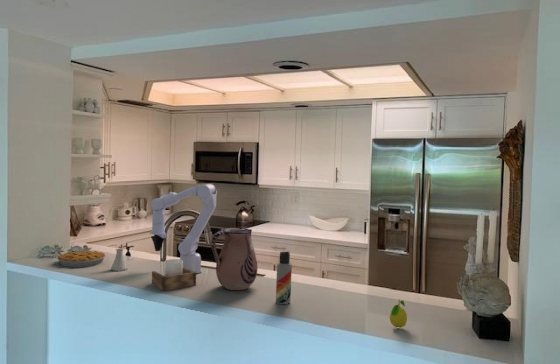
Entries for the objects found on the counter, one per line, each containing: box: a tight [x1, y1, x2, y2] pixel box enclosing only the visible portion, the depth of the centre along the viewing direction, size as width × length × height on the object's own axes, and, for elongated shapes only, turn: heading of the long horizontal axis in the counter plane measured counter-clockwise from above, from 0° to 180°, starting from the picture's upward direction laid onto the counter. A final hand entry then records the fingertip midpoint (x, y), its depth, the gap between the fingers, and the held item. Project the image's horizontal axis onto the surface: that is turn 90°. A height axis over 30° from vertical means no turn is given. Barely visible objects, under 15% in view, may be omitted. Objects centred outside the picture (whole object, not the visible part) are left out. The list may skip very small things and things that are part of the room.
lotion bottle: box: [275, 251, 293, 305], centre depth 166 cm, size 6×6×20 cm
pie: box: [57, 250, 106, 268], centre depth 219 cm, size 22×22×5 cm
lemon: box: [389, 298, 408, 328], centre depth 143 cm, size 7×6×10 cm
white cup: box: [164, 258, 183, 276], centre depth 187 cm, size 8×8×10 cm
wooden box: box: [151, 267, 197, 291], centre depth 185 cm, size 15×12×6 cm
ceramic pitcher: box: [210, 227, 258, 291], centre depth 183 cm, size 18×21×25 cm
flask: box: [110, 248, 128, 272], centre depth 208 cm, size 7×7×10 cm
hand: (157, 250), depth 209 cm, fingers closed
